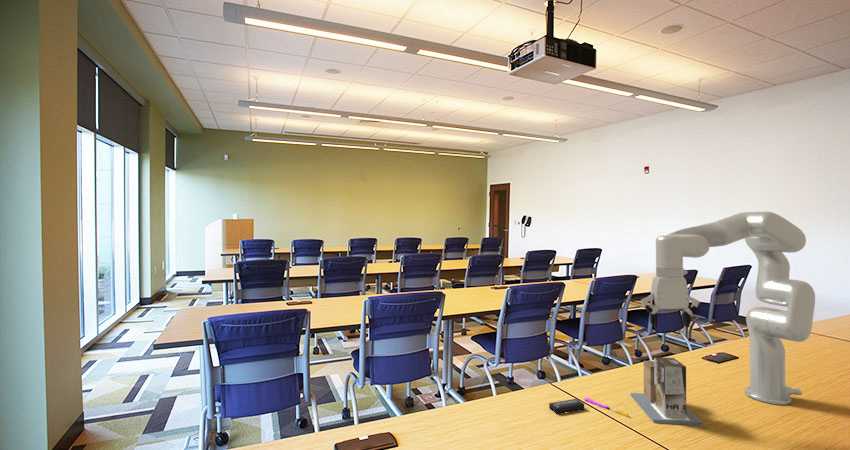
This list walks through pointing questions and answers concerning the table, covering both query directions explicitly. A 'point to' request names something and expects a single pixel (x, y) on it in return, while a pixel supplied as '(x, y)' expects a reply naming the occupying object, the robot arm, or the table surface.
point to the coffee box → (670, 387)
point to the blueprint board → (657, 417)
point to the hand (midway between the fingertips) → (670, 325)
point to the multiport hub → (566, 406)
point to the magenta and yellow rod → (605, 407)
